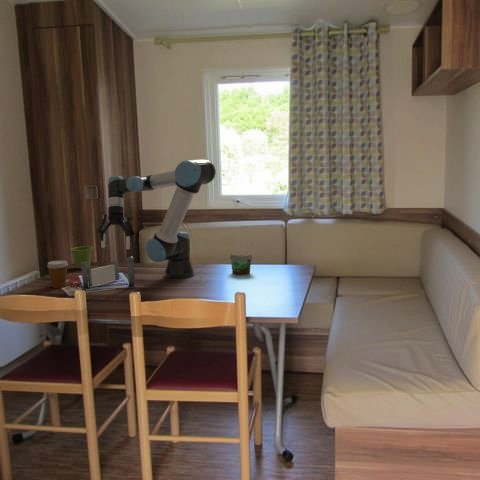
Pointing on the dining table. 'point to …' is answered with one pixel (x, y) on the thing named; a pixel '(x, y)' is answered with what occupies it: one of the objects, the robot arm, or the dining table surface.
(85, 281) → the hinge post
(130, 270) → the post
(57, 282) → the disposable coffee cup
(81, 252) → the plant pot
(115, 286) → the strip
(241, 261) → the food container
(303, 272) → the dining table surface
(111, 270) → the gate
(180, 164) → the robot arm
